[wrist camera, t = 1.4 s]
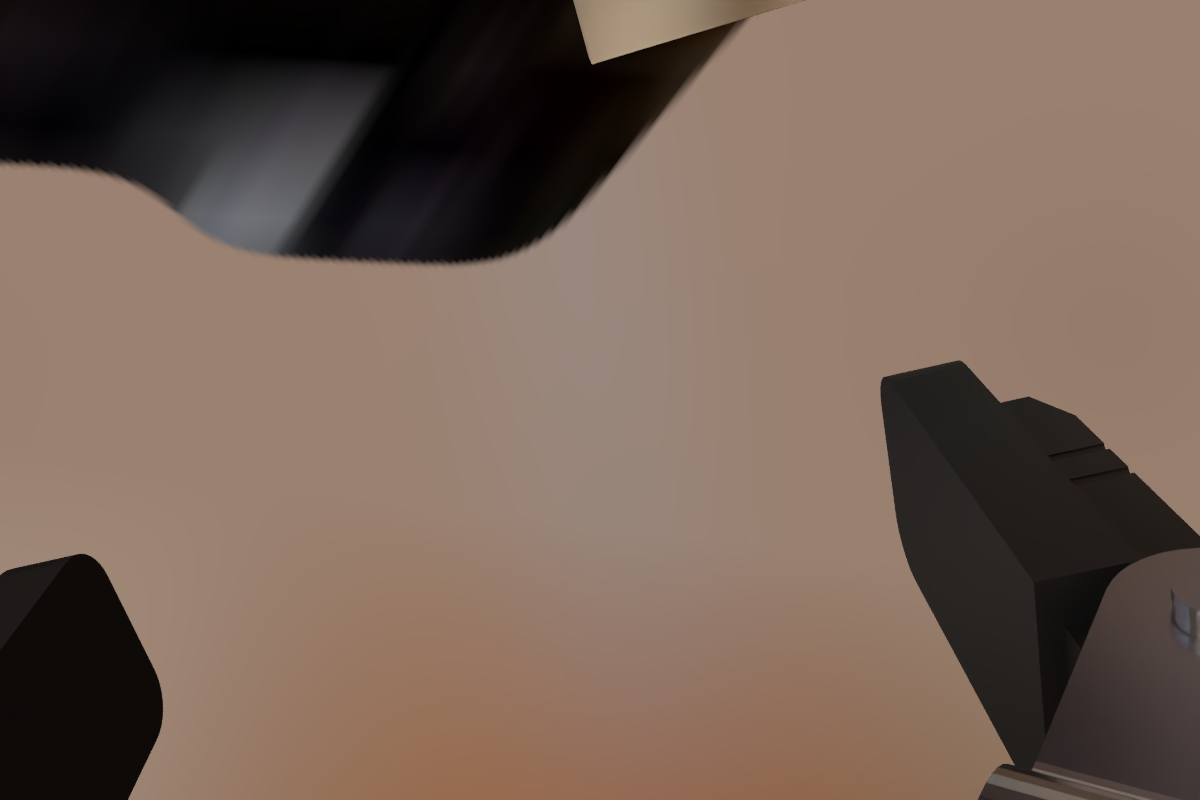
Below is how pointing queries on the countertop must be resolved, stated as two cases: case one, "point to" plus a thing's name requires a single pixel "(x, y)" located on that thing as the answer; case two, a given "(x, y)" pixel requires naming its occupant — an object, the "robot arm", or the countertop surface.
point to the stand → (656, 21)
